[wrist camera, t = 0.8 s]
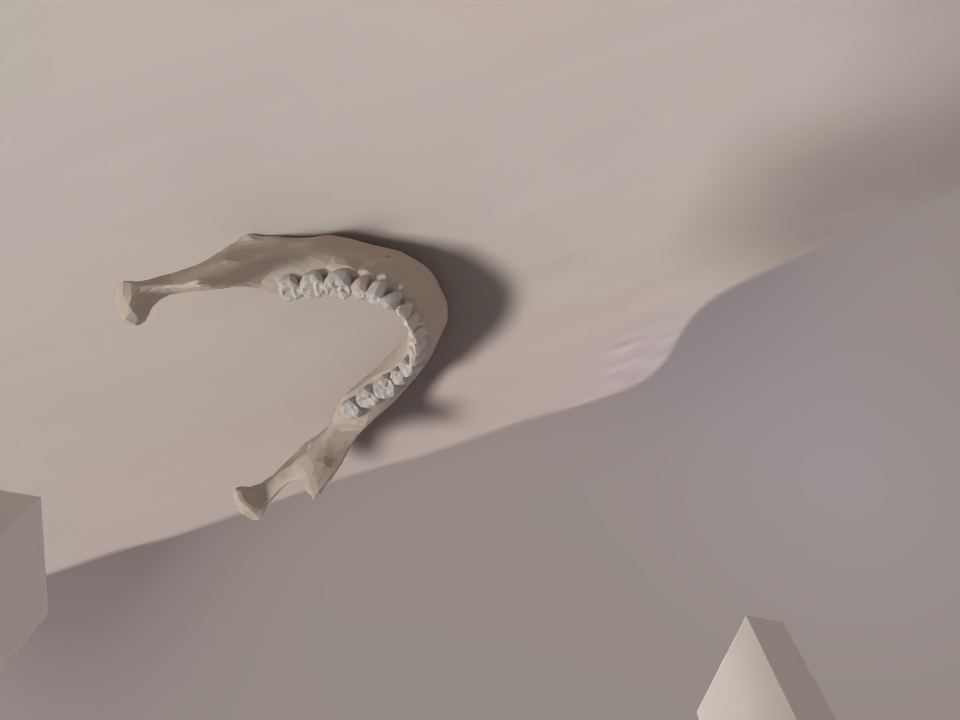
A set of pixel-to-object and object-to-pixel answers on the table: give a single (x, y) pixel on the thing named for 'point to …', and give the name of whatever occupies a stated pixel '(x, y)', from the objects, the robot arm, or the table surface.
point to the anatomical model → (310, 274)
